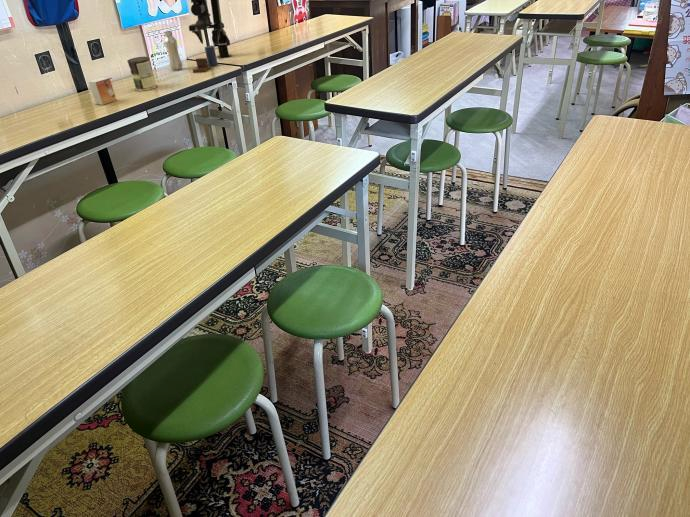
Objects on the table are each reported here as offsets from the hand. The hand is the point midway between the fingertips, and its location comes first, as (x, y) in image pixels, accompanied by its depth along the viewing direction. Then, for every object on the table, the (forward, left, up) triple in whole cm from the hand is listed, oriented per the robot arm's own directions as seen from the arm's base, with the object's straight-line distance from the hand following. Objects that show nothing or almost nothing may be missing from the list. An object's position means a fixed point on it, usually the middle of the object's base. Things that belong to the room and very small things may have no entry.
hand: (210, 43), depth 287 cm
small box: (+28, -66, -12) cm, 73 cm away
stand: (+6, -10, -12) cm, 17 cm away
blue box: (+1, -1, -7) cm, 7 cm away
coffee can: (+18, -44, -12) cm, 49 cm away
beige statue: (-8, -19, -12) cm, 24 cm away
